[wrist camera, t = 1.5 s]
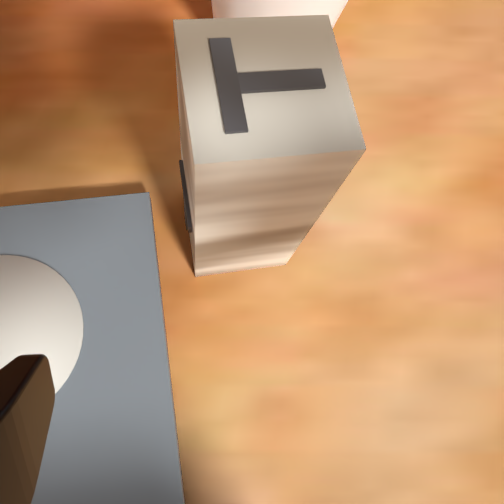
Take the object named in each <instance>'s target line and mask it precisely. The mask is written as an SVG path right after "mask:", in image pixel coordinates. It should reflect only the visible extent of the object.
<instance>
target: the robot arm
mask: <svg viewBox="0 0 504 504" xmlns="http://www.w3.org/2000/svg"><path fill="white" fill-rule="evenodd" d="M54 403H55V388H54V384H53V379H52V374H51V369H50V364H49V360H48V358H47V356H45V355H44V354H27V355H20V356H18V357H16V358H15V359H13V360H12V361H11V362H9V363H8V364H7V365H5V366H4V367H3V368H1V369H0V504H31V502H32V499H33V496H34V493H35V488H36V484H37V480H38V476H39V471H40V467H41V462H42V458H43V453H44V449H45V444H46V440H47V435H48V431H49V426H50V422H51V417H52V413H53V408H54Z"/></svg>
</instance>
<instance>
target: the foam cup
mask: <svg viewBox="0 0 504 504" xmlns="http://www.w3.org/2000/svg"><path fill="white" fill-rule="evenodd" d="M347 1H348V0H211V2H212V11H213V18H243V17H273V16H304V15H329V19H330V22H331V26H332V28H333V27H334V25H335V23H336V21H337V19H338V18H339V16H340V14H341V12H342V10H343V9H344V7H345V5H346V3H347Z"/></svg>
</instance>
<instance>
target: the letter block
mask: <svg viewBox="0 0 504 504" xmlns="http://www.w3.org/2000/svg"><path fill="white" fill-rule="evenodd" d="M173 26H174V43H175V59H176V76H177V92H178V109H179V125H180V142H181V158H182V160H179V163H180V173H181V180H182V187H183V197H184V213H185V223H186V230H188V231H189V236H190V243H191V250H192V258H193V265H194V272H195V277H198V276H206V275H213V274H221V273H228V272H236V271H243V270H251V269H258V268H265V267H273V266H280V265H286V263H287V262H288V260H289V259H290V258H291V256H292V255H293V253H294V252H295V250H296V249H297V248H298V246H299V245H300V243H301V242H302V240H303V239H304V238H305V236H306V235H307V233H308V232H309V230H310V229H311V228H312V226H313V225H314V223H315V222H316V220H317V219H318V218H319V216H320V215H321V213H322V212H323V210H324V209H325V208H326V206H327V205H328V203H329V202H330V200H331V199H332V198H333V196H334V195H335V193H336V192H337V190H338V189H339V187H340V186H341V185H342V183H343V182H344V180H345V179H346V177H347V176H348V175H349V173H350V172H351V170H352V169H353V167H354V166H355V165H356V163H357V162H358V160H359V159H360V157H361V156H362V155H363V153H364V152H365V150H366V146H365V143H364V139H363V136H362V132H361V129H360V125H359V122H358V118H357V114H356V111H355V107H354V104H353V100H352V97H351V93H350V90H349V86H348V83H347V79H346V75H345V72H344V68H343V65H342V61H341V58H340V54H339V51H338V47H337V43H336V40H335V36H334V33H333V29H332V26H331V22H330V19H329V15H304V16H273V17H243V18H212V19H181V20H173Z"/></svg>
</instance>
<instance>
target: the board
mask: <svg viewBox="0 0 504 504" xmlns="http://www.w3.org/2000/svg"><path fill="white" fill-rule="evenodd" d="M27 354H44V355H45V356H47V358H48V360H49V364H50V369H51V374H52V379H53V384H54V388H55V403H54V408H53V413H52V417H51V422H50V426H49V431H48V435H47V440H46V444H45V449H44V453H43V458H42V462H41V467H40V471H39V476H38V480H37V484H36V488H35V493H34V496H33V499H32V502H31V504H185V500H184V491H183V482H182V473H181V464H180V455H179V446H178V437H177V428H176V419H175V411H174V402H173V393H172V384H171V375H170V366H169V357H168V348H167V339H166V330H165V321H164V312H163V304H162V295H161V286H160V277H159V268H158V259H157V250H156V241H155V232H154V223H153V214H152V206H151V199H150V195H149V192H146V193H136V194H126V195H116V196H106V197H95V198H85V199H75V200H65V201H55V202H45V203H35V204H25V205H15V206H5V207H0V369H1V368H3V367H4V366H5V365H7V364H8V363H9V362H11V361H12V360H13V359H15V358H16V357H18V356H20V355H27Z"/></svg>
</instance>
